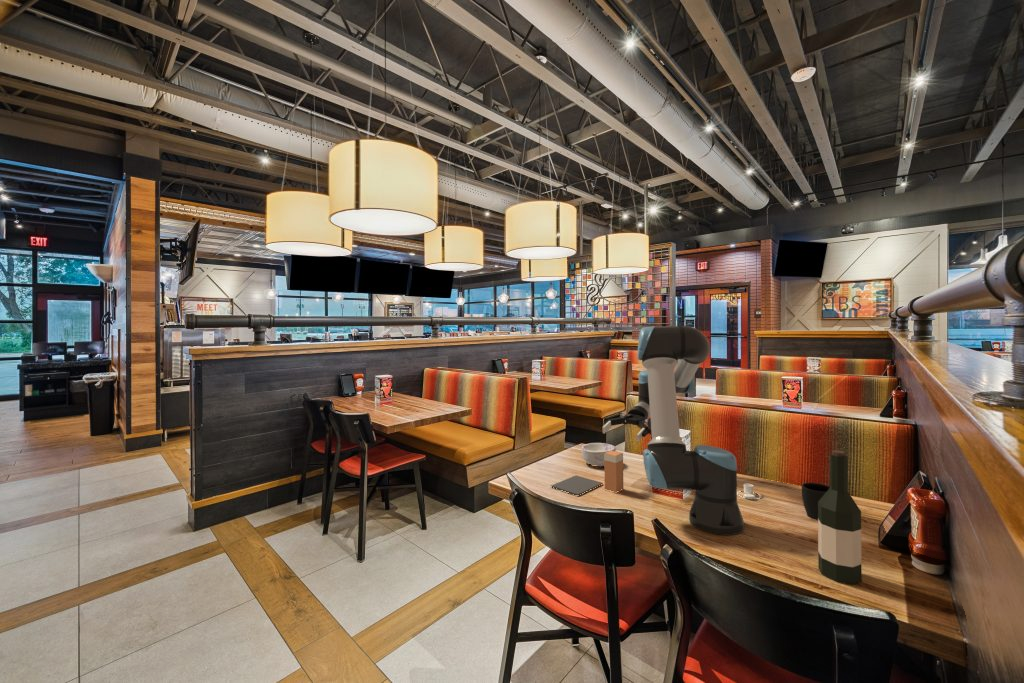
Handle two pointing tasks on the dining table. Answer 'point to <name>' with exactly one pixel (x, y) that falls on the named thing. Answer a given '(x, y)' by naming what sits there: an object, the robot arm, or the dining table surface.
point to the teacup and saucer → (749, 492)
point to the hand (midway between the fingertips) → (620, 434)
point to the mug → (812, 497)
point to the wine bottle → (839, 527)
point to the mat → (576, 485)
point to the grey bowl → (596, 452)
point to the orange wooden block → (613, 470)
